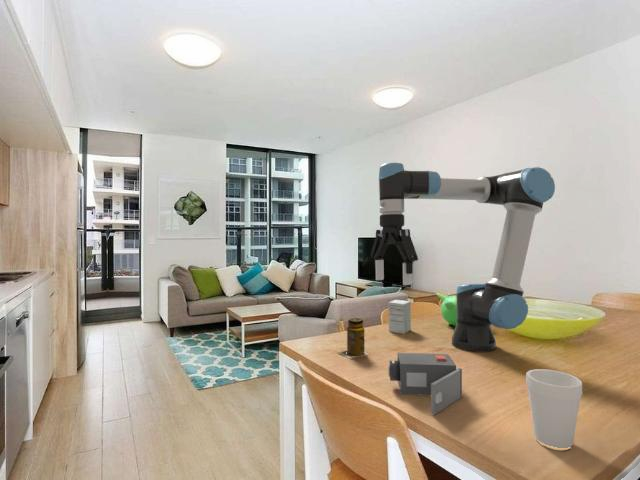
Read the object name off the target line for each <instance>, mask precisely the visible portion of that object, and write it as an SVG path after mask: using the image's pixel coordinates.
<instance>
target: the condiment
mask: <svg viewBox="0 0 640 480" xmlns="http://www.w3.org/2000/svg"><path fill="white" fill-rule="evenodd" d="M346 333H347V334H346V346H347V347H346V349H347V350H345V351H339V352H337V354H340V355H341V356H343V357H345V358H348V359H355V358H359V357H360V358H361V357H364V356H368V355H370V353H368V352H366V351H365V350H366V349H365V327H364V319H362V318H358V317H353V318H349V319H348V322H347V329H346ZM346 352H347V354H346ZM353 356H355V357H353Z"/></svg>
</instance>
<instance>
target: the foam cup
mask: <svg viewBox="0 0 640 480" xmlns="http://www.w3.org/2000/svg"><path fill="white" fill-rule="evenodd" d="M525 374H526V375H525V377H526V378H525V384H526V388H527V391H528V398H529V405H530V407H529V408H530V413H531V420H532V428H533V435H534V438H535V437H536V439H537V440H539V441H540V442H542V443H544V444H546V445H549V446H553V447H557V448H568V447H571V446H572V447H573V444H574V439H575V435H576V434H575V433H576V426H577V421H578V414H579V410H580V402H581V397H582V396H583V382H582V381H581V380H580V378H579V377H576V376H574V375H572V374H570V373H567V372H563V371H560V370H554V369H547V368H546V369H545V368H543V369H542V368H541V369H540V368H536V369H529V370H528V371H527V372H526V373H525ZM536 439H535V440H536Z"/></svg>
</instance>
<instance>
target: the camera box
mask: <svg viewBox="0 0 640 480" xmlns="http://www.w3.org/2000/svg"><path fill="white" fill-rule="evenodd" d="M396 354H397V355H396V356H397V360H389V364H388V377H389V380H390V382H391V381H392V382H394V381H395V382H397V383H398V387H399V392H400V395H409V396H411V395H413V396H431V383H433V382H435V381H437V380H439V379H441V378H442V377H444V376H446V375H448V374H450V373H451V372H453V371H455V370H457V364H456V363H455V361H454V360H453V359H452V357H451V356H450V355H449V354H448V353H420V352H419V353H415V352H412V353H411V352H397V353H396Z"/></svg>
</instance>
